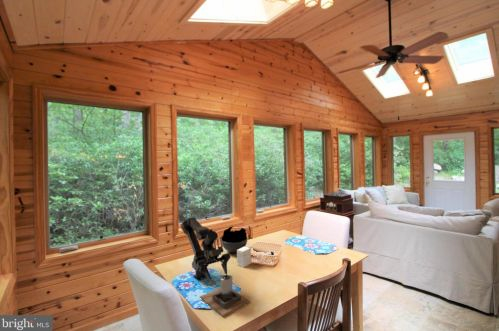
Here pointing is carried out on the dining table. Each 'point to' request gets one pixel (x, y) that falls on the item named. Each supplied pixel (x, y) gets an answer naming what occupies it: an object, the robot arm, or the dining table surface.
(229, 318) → the dining table surface
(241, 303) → the walnut board
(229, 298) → the steel hub
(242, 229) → the coal bowl
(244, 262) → the small box
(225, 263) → the robot arm
